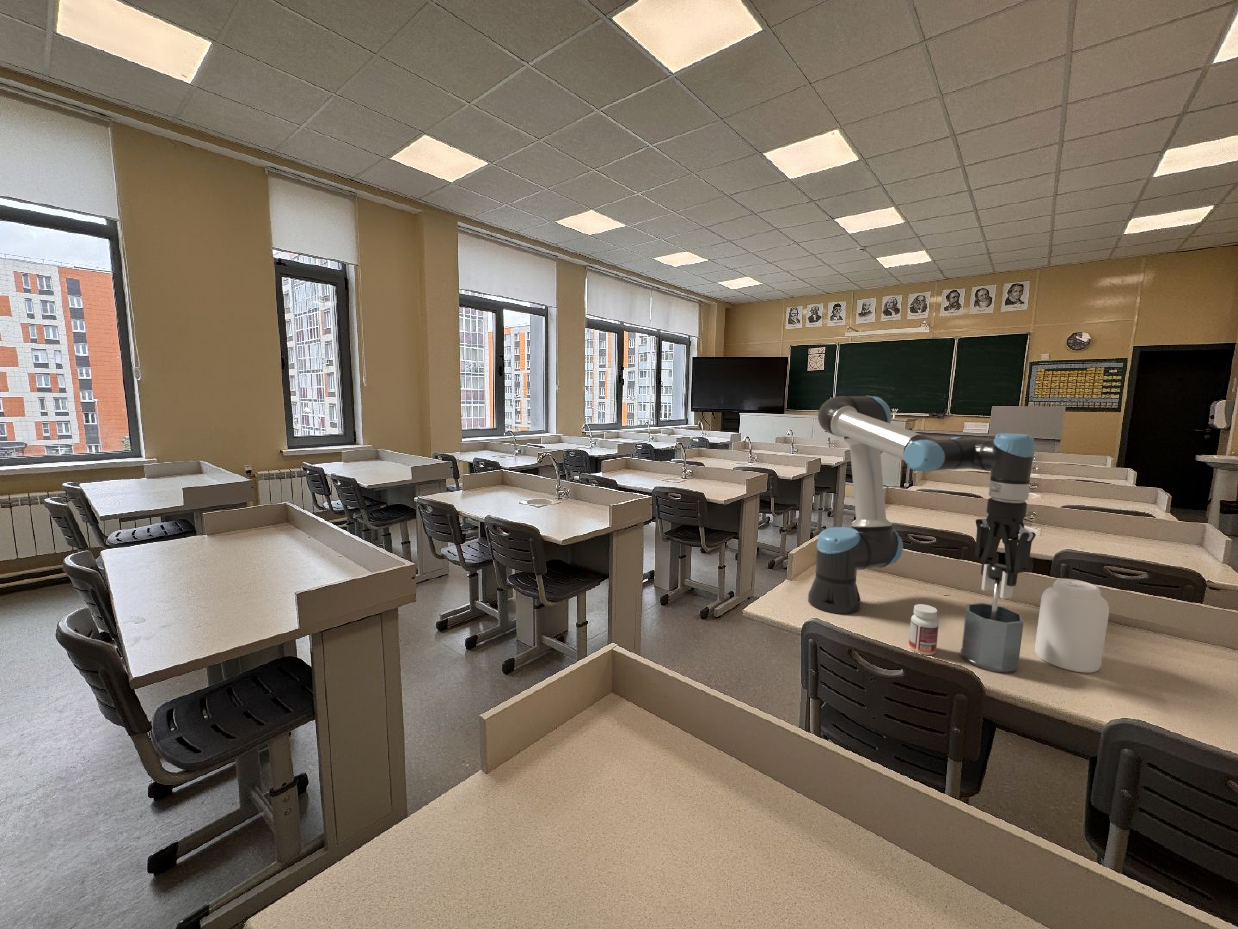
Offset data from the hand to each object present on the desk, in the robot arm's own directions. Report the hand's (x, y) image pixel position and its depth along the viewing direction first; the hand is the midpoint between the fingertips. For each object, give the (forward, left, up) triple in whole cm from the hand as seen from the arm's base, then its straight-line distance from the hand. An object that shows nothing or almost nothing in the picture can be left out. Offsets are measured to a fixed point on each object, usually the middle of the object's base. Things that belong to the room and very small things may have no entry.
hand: (996, 593), depth 127 cm
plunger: (0, 0, -16) cm, 16 cm away
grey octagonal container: (0, +1, -18) cm, 18 cm away
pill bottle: (-8, -12, -18) cm, 23 cm away
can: (+4, +19, -18) cm, 26 cm away
